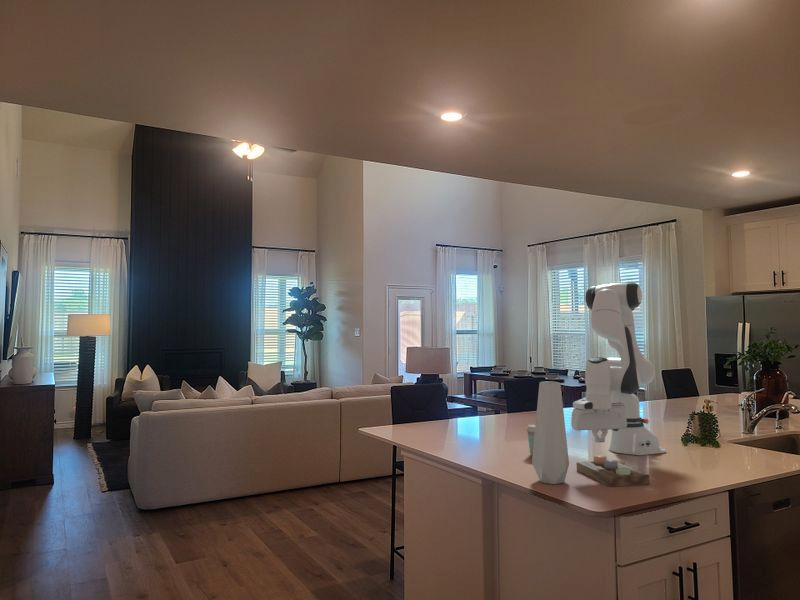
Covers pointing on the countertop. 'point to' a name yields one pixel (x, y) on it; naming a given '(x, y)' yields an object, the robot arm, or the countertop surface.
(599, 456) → the button terracotta
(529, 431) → the coffee cup
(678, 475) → the countertop surface
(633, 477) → the panel
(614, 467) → the button grey
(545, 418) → the white faceted column
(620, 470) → the button sage
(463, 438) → the countertop surface
